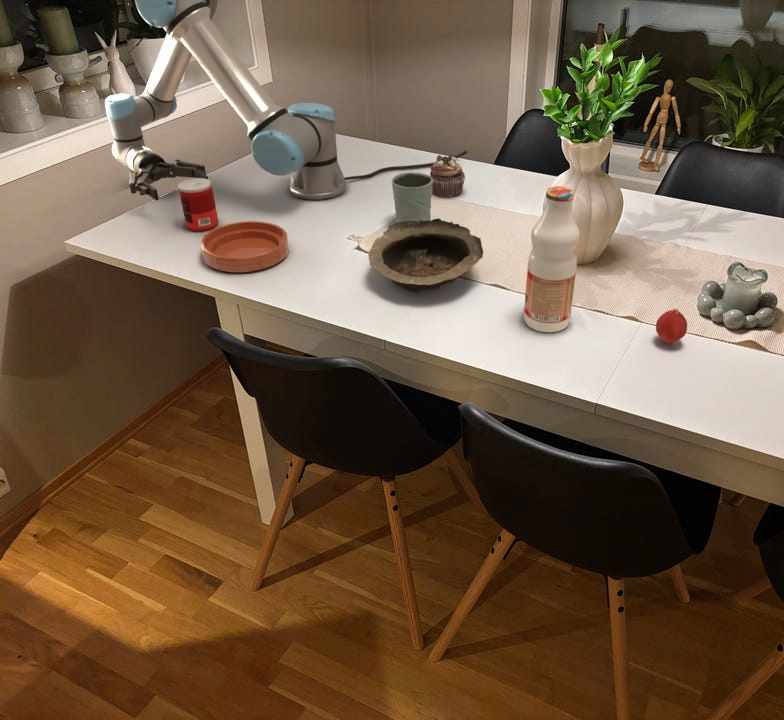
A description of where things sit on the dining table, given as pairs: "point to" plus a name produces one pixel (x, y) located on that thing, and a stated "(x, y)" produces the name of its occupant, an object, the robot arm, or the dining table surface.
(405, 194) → the green embossed cup
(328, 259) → the dining table surface
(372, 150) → the dining table surface
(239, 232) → the bowl
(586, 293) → the dining table surface
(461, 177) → the cupcake
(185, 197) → the canned food
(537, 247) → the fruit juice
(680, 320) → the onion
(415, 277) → the stone bowl
